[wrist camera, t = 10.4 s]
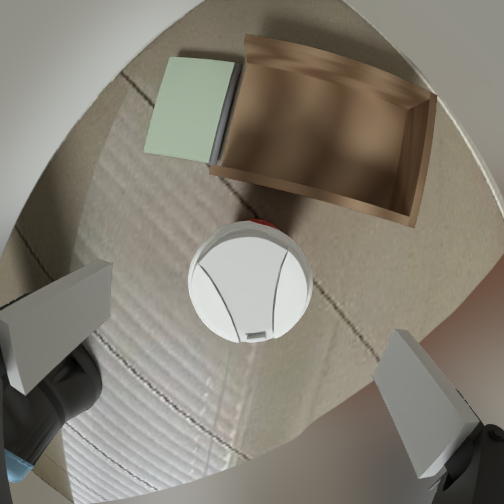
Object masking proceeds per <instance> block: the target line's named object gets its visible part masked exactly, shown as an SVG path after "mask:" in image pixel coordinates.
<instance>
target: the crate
mask: <svg viewBox="0 0 504 504" xmlns="http://www.w3.org/2000/svg"><path fill="white" fill-rule="evenodd" d="M244 45H245V51H246V57H247V66H246V70H245V74H244V77H243V81H242V85H241V88H240V92H239V96H238V100H237V103H236V107H235V111H234V115H233V119H232V123H231V127H230V131H229V135H228V139H227V143H226V148H225V152H224V156H223V160H222V165H221V166H217V165H212V164H211V167H210V172H209V174H211V175H215V176H220V177H224V178H229V179H234V180H239V181H243V182H248V183H252V184H257V185H261V186H265V187H270V188H274V189H278V190H282V191H286V192H290V193H294V194H298V195H302V196H306V197H310V198H314V199H317V200H321V201H325V202H329V203H332V204H336V205H339V206H343V207H346V208H350V209H353V210H357V211H360V212H364V213H367V214H370V215H374V216H377V217H380V218H383V219H387V220H390V221H393V222H396V223H400V224H403V225H406V226H409V227H412V228H415V224H416V221H417V217H418V212H419V208H420V204H421V200H422V195H423V190H424V186H425V181H426V176H427V170H428V165H429V159H430V153H431V146H432V139H433V132H434V123H435V114H436V103H437V95H436V94H434V93H432V92H430V91H428V90H426V89H424V88H422V87H420V86H417V85H415V84H413V83H411V82H409V81H407V80H404V79H402V78H400V77H398V76H395V75H393V74H391V73H388V72H386V71H383V70H381V69H378V68H375V67H373V66H370V65H367V64H365V63H362V62H359V61H356V60H353V59H350V58H347V57H344V56H341V55H338V54H334V53H331V52H327V51H324V50H320V49H317V48H313V47H309V46H305V45H301V44H296V43H292V42H287V41H283V40H278V39H272V38H267V37H261V36H255V35H248V34H246V36H245V39H244Z"/></svg>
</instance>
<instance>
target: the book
mask: <svg viewBox="0 0 504 504" xmlns="http://www.w3.org/2000/svg"><path fill="white" fill-rule="evenodd" d="M241 66H242V64H240V63H234V62H226V61H218V60H209V59H198V58H184V57H170V59H169V62H168V65H167V68H166V71H165V74H164V77H163V80H162V83H161V87H160V90H159V93H158V97H157V100H156V104H155V107H154V111H153V115H152V119H151V123H150V126H149V130H148V135H147V139H146V143H145V147H144V152H146V153H151V154H157V155H164V156H170V157H176V158H182V159H188V160H193V161H199V162H204V163H208V165H210V166H211V164H212V165H216V163H217V159H218V155H219V151H220V146H221V142H222V138H223V134H224V130H225V126H226V122H227V118H228V114H229V110H230V106H231V102H232V99H233V95H234V91H235V88H236V84H237V80H238V77H239V73H240V70H241Z"/></svg>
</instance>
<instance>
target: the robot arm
mask: <svg viewBox="0 0 504 504" xmlns="http://www.w3.org/2000/svg"><path fill="white" fill-rule="evenodd" d="M112 265H113V263H110V262H107V261H103V260H100V259H98V260H96V261H94V262H92V263H90V264H88V265H86V266H84V267H82V268H80V269H78V270H76V271H74V272H72V273H70V274H68V275H66V276H64V277H62V278H60V279H58V280H56V281H54V282H52V283H50V284H48V285H47V286H45V287H43V288H41V289H39V290H37V291H35V292H31V293H27V294H24V295H22V296H21V297H19V298H17V299H16V300H13V301H11V302H10V303H9V304H6V305H4V306H2V307H1V308H0V504H13V503H12V498H11V493H10V487H9V482H8V481H11V482H19V481H21V480H22V479H23V478H24V477H25V476H26V474H27V473H28V472H29V471H30V470H31V469H33V468H34V465H35V464H36V462H37V461H38V459H39V458H40V456H41V455H42V454H43V452H44V451H45V449H46V448H47V447H48V445H49V444H50V442H51V441H52V440H53V438H54V437H55V435H56V434H57V433H58V431H59V430H60V429H61V427H62V426H63V425H64V423H65V422H66V421H68V420H70V419H71V418H73V417H75V416H77V415H79V414H80V413H82V412H83V411H86V410H88V409H90V408H91V407H92V406H93V405H94V403H95V402H96V401H97V399H98V398H99V396H100V394H101V388H102V386H101V379H100V375H99V373H98V370H97V368H96V366H95V364H94V362H93V360H92V359H91V357H90V356H89V354H88V353H87V352H86V350H85V349H84V348H83V347H82V346H81V344H80V343H81V342H82V341H84V340H85V339H86V338H87V337H88V336H89V335H90V334H91V333H92V332H94V331H95V330H96V329H97V328H98V327H99V326H100V325H101V324H102V323H104V322H105V321H106V320H107V319H108V318H109V317H110V300H111V280H112ZM373 378H374V380H375V382H376V384H377V387H378V389H379V391H380V393H381V395H382V397H383V399H384V401H385V403H386V405H387V408H388V410H389V412H390V414H391V416H392V419H393V420H394V423H395V425H396V427H397V429H398V432H399V434H400V436H401V438H402V441H403V443H404V446H405V448H406V450H407V452H408V455H409V457H410V460H411V462H412V464H413V467H414V469H415V471H416V474H417V476H418V478H424V477H430V476H434V475H435V474H436V473H437V472H438V471H439V470H440V469H441V468H442V467H443V466H444V465H445V467H446V469H447V471H446V472H445V473H444V474H443V475H442V476H441V478H439V479H438V480H437V481H436V482H435V483H434V484H433V485H432V486H431V487H430V489H429V490H430V491H431V490H432V489H433V488H435V487H436V486H438V488H437V490H436V491H435V493H436V494H435V496H434V499H433V501H432V504H504V431H503V430H502V429H501V428H500V427H498V426H496V425H493V424H487V425H486V426H484V425H483V423H482V422H481V420H480V419H479V418H478V416H477V415H476V414H475V413H474V411H473V410H472V408H471V407H470V406H468V403H467V402H466V400H464V398H463V396H462V395H461V394H460V392H459V391H458V390H457V389H456V388H454V386H453V385H452V384H451V382H450V381H449V380H448V379H447V378H446V376H445V375H444V374H443V373H442V371H441V370H440V369H439V367H438V366H437V365H436V364H435V363H434V361H433V360H432V359H431V358H430V357H429V355H428V354H427V353H426V352H425V351H424V349H423V348H422V347H421V346H420V345H419V343H418V342H417V341H416V340H415V339H414V337H413V336H412V335H411V334H410V333H409V332H408V331H407V330H401V329H394V331H393V334H392V336H391V338H390V340H389V343H388V345H387V347H386V349H385V351H384V354H383V356H382V358H381V360H380V362H379V364H378V366H377V368H376V370H375V372H374V374H373Z"/></svg>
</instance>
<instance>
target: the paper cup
mask: <svg viewBox="0 0 504 504" xmlns="http://www.w3.org/2000/svg"><path fill="white" fill-rule="evenodd" d="M188 287H189V294H190V297H191V300H192V303H193V305H194V308H195V310H196V312H197V314H198V316H199V317H200V319H201V320H202V321H203V323H204V324H205V325H206V326H207V327H208V328H209V329H210V330H212V331H213V332H214V333H216V334H217V335H219V336H221V337H222V338H224V339H227V340H230V341H232V342H236V343H240V341H241V342H244V341H246V342H248V343H251V342H260V341H266V340H267V339H270V338H273V337H275V339H276V338H278V337H280V336H282V335H283V334H285V333H286V332H287V331H289V330H290V329H291V328H292V327H293V326H294V325H295V324H296V323H297V322H298V321H299V319H300V318H301V317H302V315H303V314H304V312H305V310H306V309H307V307H308V305H309V301H310V298H311V294H312V288H313V281H312V273H311V268H310V265H309V262H308V260H307V258H306V256H305V254H304V253H303V251H302V249H301V248H300V247H299V246H298V245H297V243H296V242H295V241H293V240H292V239H291V238H290V237H289V236H288V235H286V234H284V233H283V232H281V231H280V230H279V229H278V228H277V227H276V226H275V225H273V224H272V223H270V222H268V221H266V220H262V219H250V220H246V221H240V222H235V223H231V224H228V225H225V226H223V227H220V228H219V229H218V230H217V231H216V232H215V233H214V234H212V235H211V236H210V237H209V238H208V239H207V240H206V241H205V242H204V243H203V244H202V245H201V246H200V248H199V249H198V250H197V252H196V254H195V255H194V257H193V260H192V262H191V265H190V269H189V275H188Z"/></svg>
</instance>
